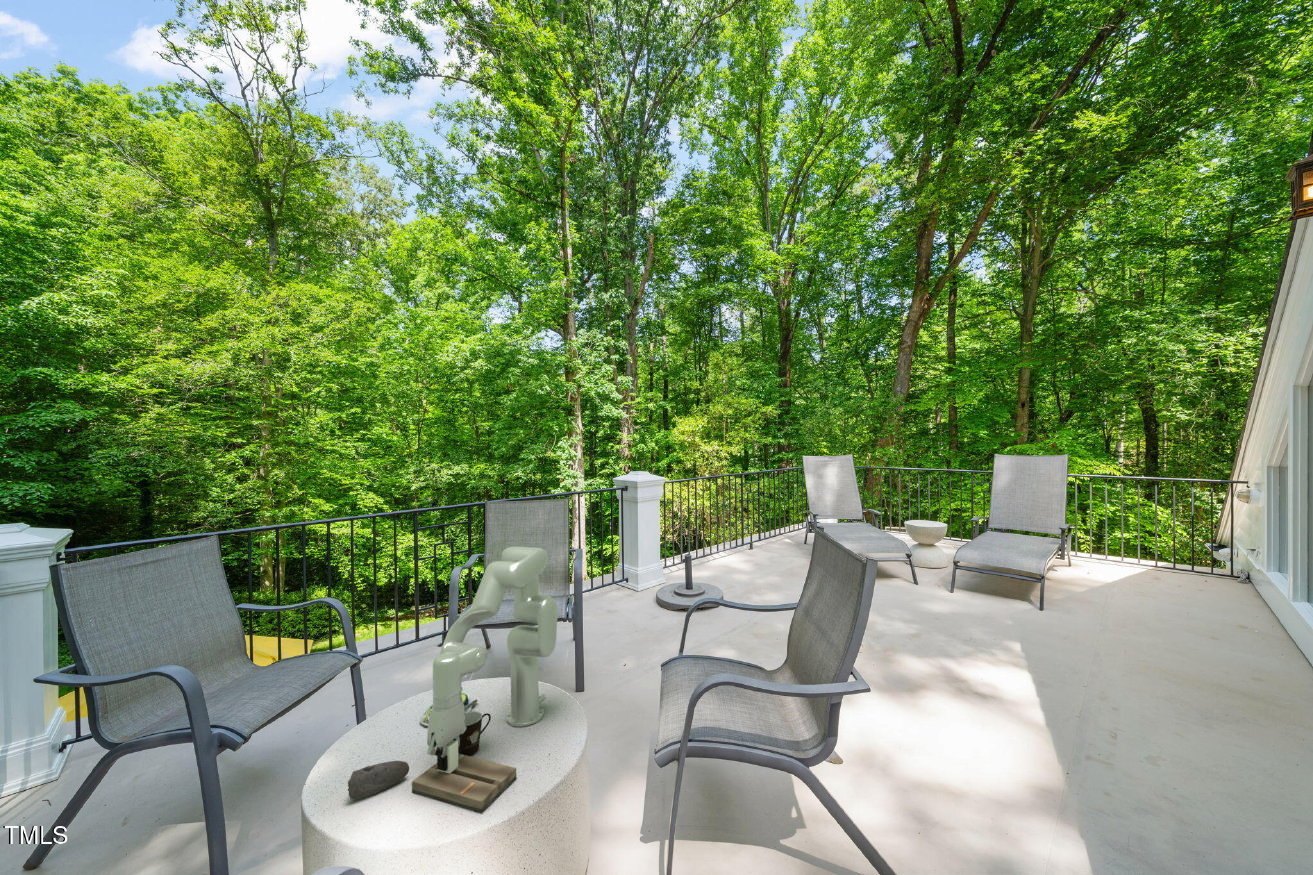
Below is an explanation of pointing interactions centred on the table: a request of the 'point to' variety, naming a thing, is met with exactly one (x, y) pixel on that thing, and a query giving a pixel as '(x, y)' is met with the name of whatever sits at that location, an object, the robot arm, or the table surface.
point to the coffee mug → (472, 733)
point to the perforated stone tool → (376, 778)
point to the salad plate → (424, 719)
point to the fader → (451, 756)
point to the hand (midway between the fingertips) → (447, 764)
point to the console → (466, 783)
